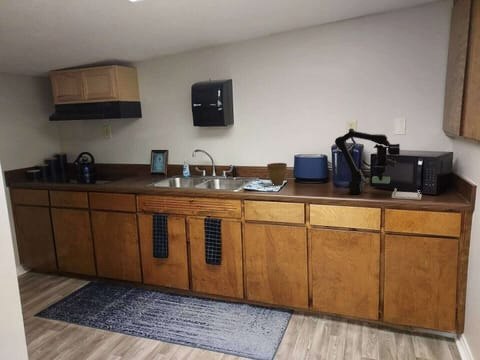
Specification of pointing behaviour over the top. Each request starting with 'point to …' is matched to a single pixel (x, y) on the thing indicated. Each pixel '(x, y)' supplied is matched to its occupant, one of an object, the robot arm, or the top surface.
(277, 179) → the plant pot
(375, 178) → the circuit board
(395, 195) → the chassis plate
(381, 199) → the top surface
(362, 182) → the mechanical component
